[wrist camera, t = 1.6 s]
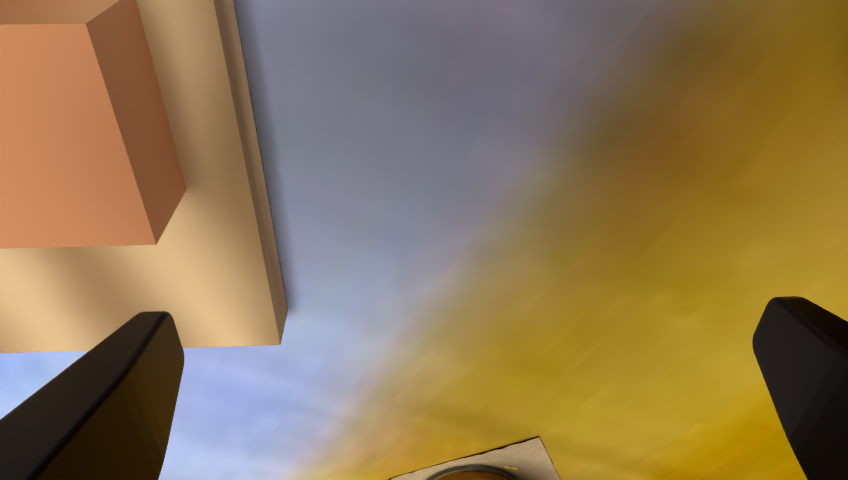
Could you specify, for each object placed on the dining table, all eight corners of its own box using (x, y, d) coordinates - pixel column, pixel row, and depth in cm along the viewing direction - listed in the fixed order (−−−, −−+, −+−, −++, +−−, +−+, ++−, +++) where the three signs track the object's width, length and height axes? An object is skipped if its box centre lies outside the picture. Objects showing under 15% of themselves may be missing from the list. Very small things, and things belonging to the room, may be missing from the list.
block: (133, -10, 16) (85, 23, 13) (186, 189, 19) (156, 245, 17) (-104, -8, 15) (-197, 26, 13) (-6, 193, 19) (-66, 250, 16)
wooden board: (169, -366, 13) (137, -392, 12) (287, 309, 25) (280, 344, 23) (-351, -372, 13) (-458, -398, 11) (16, 317, 24) (-11, 353, 23)
